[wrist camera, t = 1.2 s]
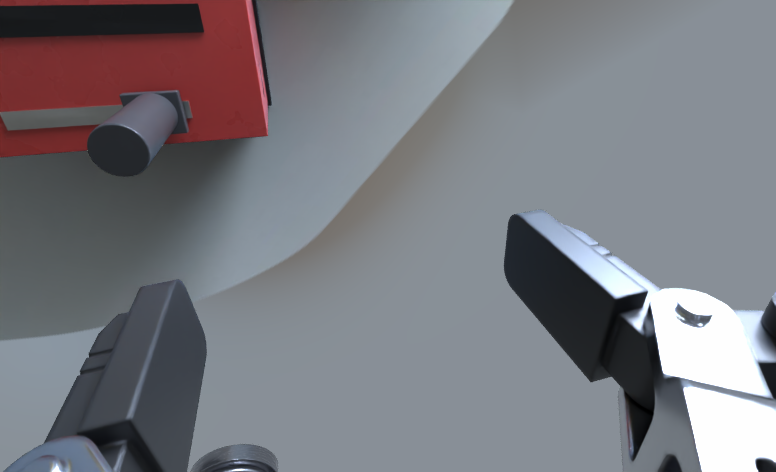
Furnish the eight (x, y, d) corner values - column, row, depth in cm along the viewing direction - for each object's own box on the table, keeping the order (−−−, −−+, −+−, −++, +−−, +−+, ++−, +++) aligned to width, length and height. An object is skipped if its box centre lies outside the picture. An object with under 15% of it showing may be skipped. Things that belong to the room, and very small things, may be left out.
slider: (179, 89, 23) (147, 121, 17) (189, 130, 25) (164, 173, 19) (121, 92, 23) (68, 126, 17) (135, 134, 24) (90, 180, 18)
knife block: (244, -75, 29) (234, -110, 20) (271, 104, 36) (273, 140, 26) (-65, -83, 25) (-256, -131, 16) (27, 119, 32) (-72, 169, 22)
